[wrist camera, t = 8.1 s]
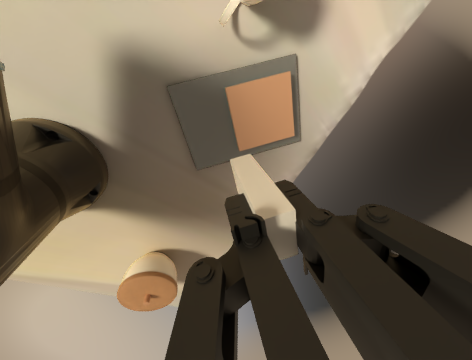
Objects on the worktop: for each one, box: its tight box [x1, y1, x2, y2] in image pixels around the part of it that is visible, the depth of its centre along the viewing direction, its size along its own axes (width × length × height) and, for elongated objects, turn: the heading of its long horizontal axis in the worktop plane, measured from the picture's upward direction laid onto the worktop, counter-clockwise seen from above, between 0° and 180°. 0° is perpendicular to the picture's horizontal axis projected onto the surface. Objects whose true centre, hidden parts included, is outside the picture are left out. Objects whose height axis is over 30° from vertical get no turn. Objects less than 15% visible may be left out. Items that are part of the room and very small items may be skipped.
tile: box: [224, 71, 294, 151], centre depth 31 cm, size 2×10×10 cm
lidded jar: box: [117, 252, 177, 311], centre depth 39 cm, size 11×11×9 cm
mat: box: [167, 54, 300, 170], centre depth 32 cm, size 20×14×1 cm
